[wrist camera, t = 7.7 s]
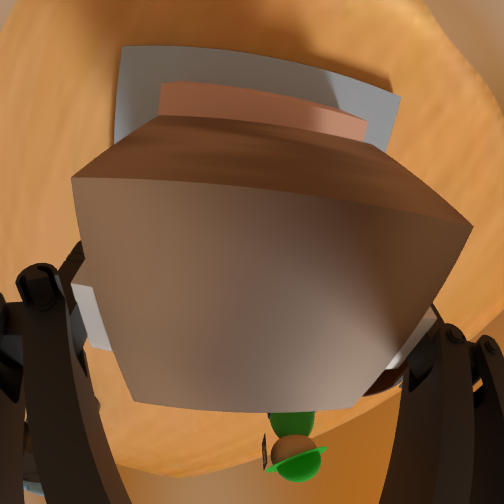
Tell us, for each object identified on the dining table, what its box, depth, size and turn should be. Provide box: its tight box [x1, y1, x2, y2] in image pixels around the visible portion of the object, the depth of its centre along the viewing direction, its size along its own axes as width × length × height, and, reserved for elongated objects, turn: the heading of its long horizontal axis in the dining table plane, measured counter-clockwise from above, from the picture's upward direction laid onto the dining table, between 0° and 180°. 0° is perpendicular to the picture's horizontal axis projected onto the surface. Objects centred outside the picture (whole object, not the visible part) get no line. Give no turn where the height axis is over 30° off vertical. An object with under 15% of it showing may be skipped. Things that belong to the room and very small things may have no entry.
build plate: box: [114, 45, 401, 153], centre depth 19 cm, size 20×16×6 cm
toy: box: [262, 411, 327, 482], centre depth 35 cm, size 9×9×15 cm
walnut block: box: [71, 115, 474, 413], centre depth 11 cm, size 9×9×7 cm
